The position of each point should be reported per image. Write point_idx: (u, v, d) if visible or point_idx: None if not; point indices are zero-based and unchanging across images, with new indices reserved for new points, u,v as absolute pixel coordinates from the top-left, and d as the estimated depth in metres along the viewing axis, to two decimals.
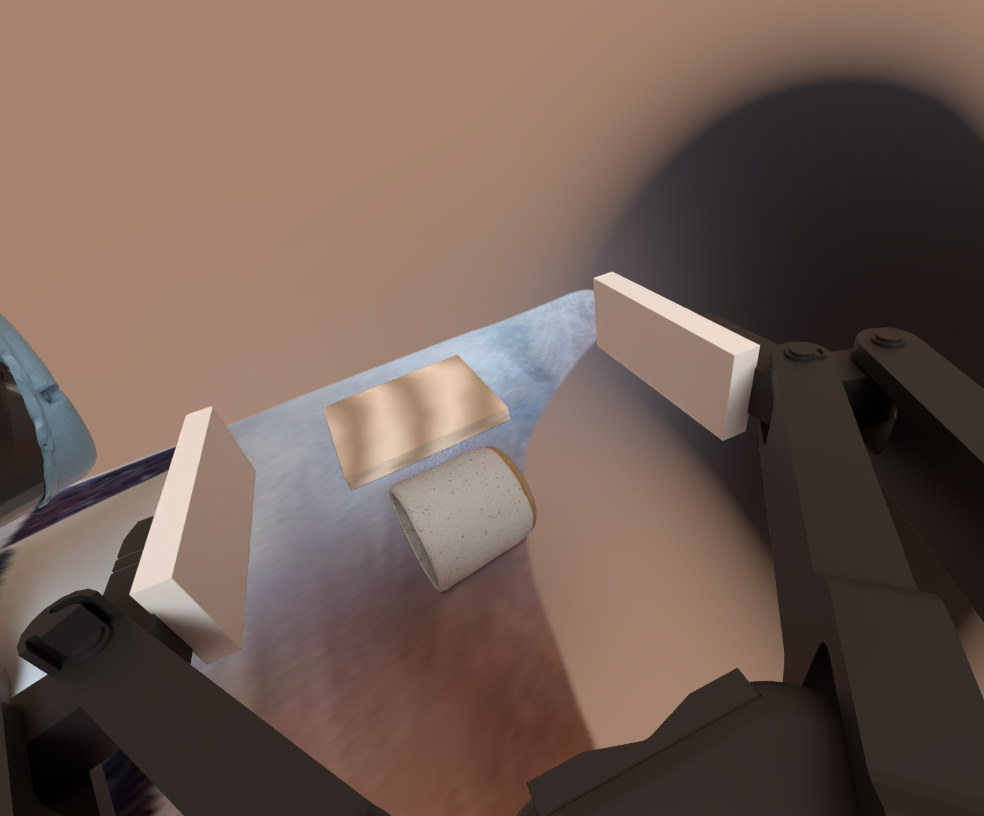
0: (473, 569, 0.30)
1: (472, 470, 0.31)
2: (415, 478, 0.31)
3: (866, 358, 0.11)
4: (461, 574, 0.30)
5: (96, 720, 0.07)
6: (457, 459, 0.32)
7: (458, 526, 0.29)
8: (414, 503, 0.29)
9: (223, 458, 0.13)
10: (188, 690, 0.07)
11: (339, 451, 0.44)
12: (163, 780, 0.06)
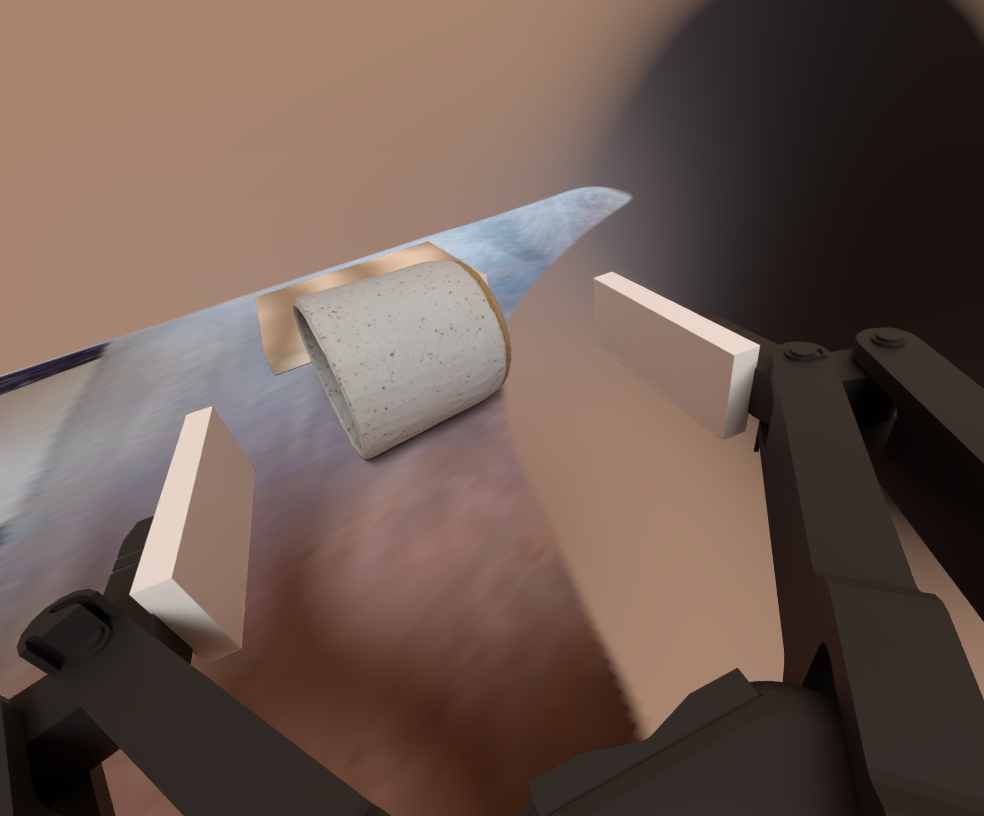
0: (414, 419, 0.20)
1: (412, 273, 0.20)
2: None
3: (866, 358, 0.11)
4: (394, 422, 0.19)
5: (96, 720, 0.07)
6: None
7: (385, 338, 0.18)
8: (317, 304, 0.19)
9: (223, 458, 0.13)
10: (188, 690, 0.07)
11: (263, 332, 0.34)
12: (163, 780, 0.06)
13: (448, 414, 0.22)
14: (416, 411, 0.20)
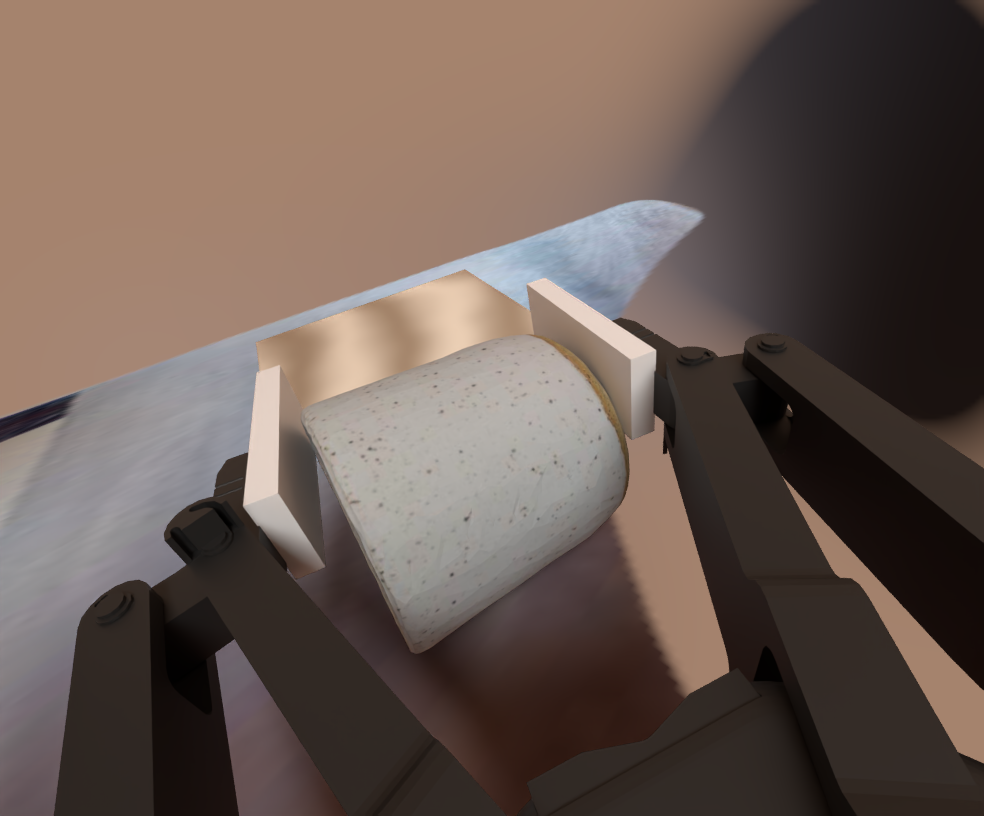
0: (492, 600, 0.13)
1: (488, 366, 0.13)
2: (356, 388, 0.13)
3: (757, 364, 0.11)
4: (463, 613, 0.12)
5: (215, 606, 0.08)
6: (453, 353, 0.15)
7: (455, 492, 0.11)
8: (342, 434, 0.11)
9: (292, 410, 0.15)
10: (288, 599, 0.08)
11: None
12: (262, 668, 0.07)
13: None
14: (496, 591, 0.12)
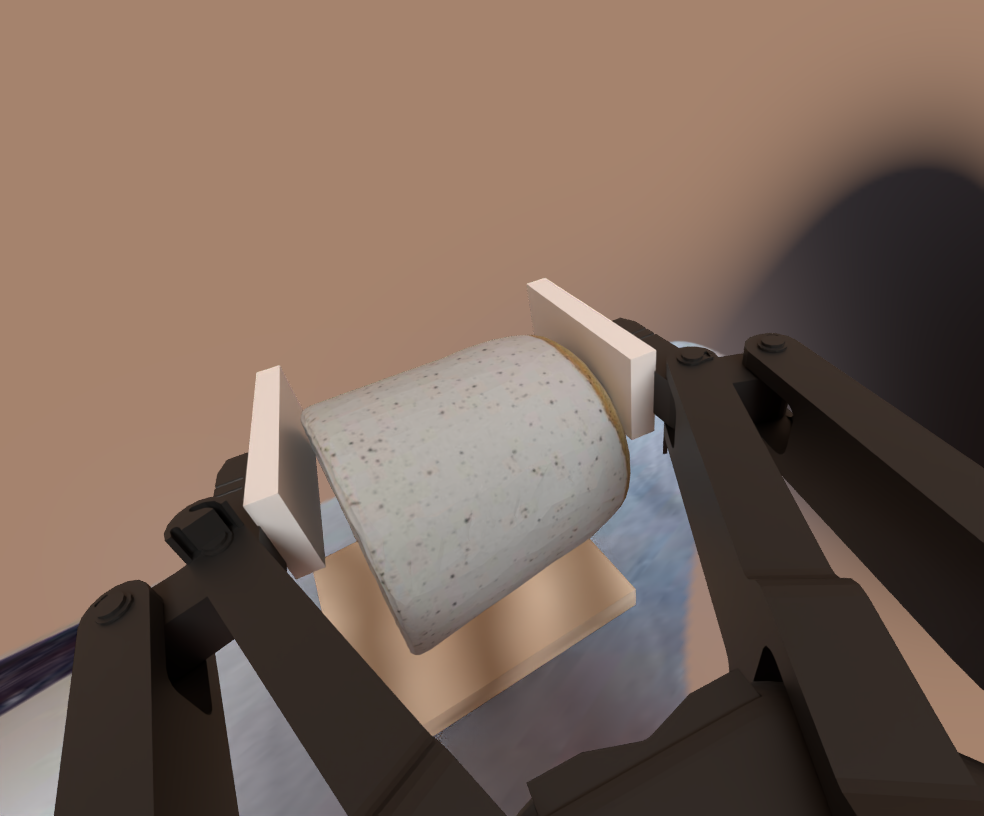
0: (492, 601, 0.13)
1: (488, 367, 0.13)
2: (356, 389, 0.13)
3: (757, 365, 0.11)
4: (464, 615, 0.12)
5: (215, 606, 0.08)
6: (453, 354, 0.15)
7: (456, 493, 0.11)
8: (342, 435, 0.11)
9: (292, 410, 0.15)
10: (287, 599, 0.08)
11: None
12: (262, 668, 0.07)
13: None
14: (497, 593, 0.12)
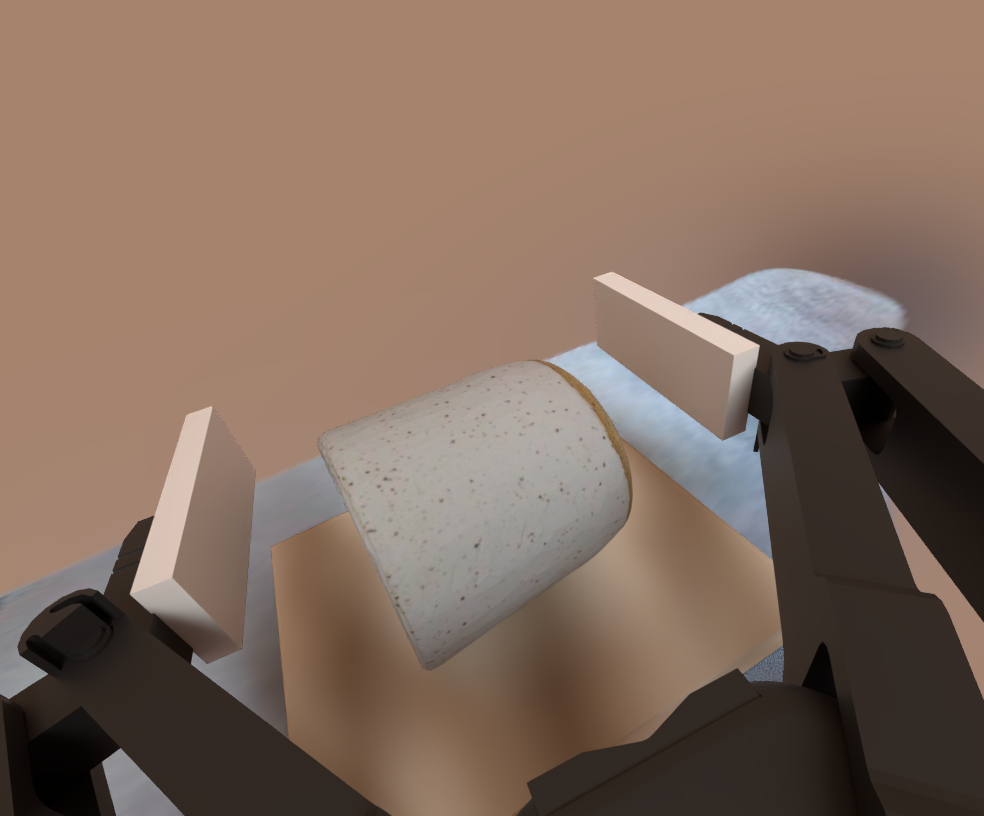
0: (500, 619, 0.13)
1: (497, 395, 0.14)
2: (370, 415, 0.14)
3: (866, 358, 0.11)
4: (473, 633, 0.13)
5: (97, 719, 0.07)
6: (463, 380, 0.15)
7: (466, 520, 0.12)
8: (358, 464, 0.12)
9: (223, 458, 0.13)
10: (189, 689, 0.07)
11: None
12: (163, 779, 0.06)
13: None
14: (505, 612, 0.13)
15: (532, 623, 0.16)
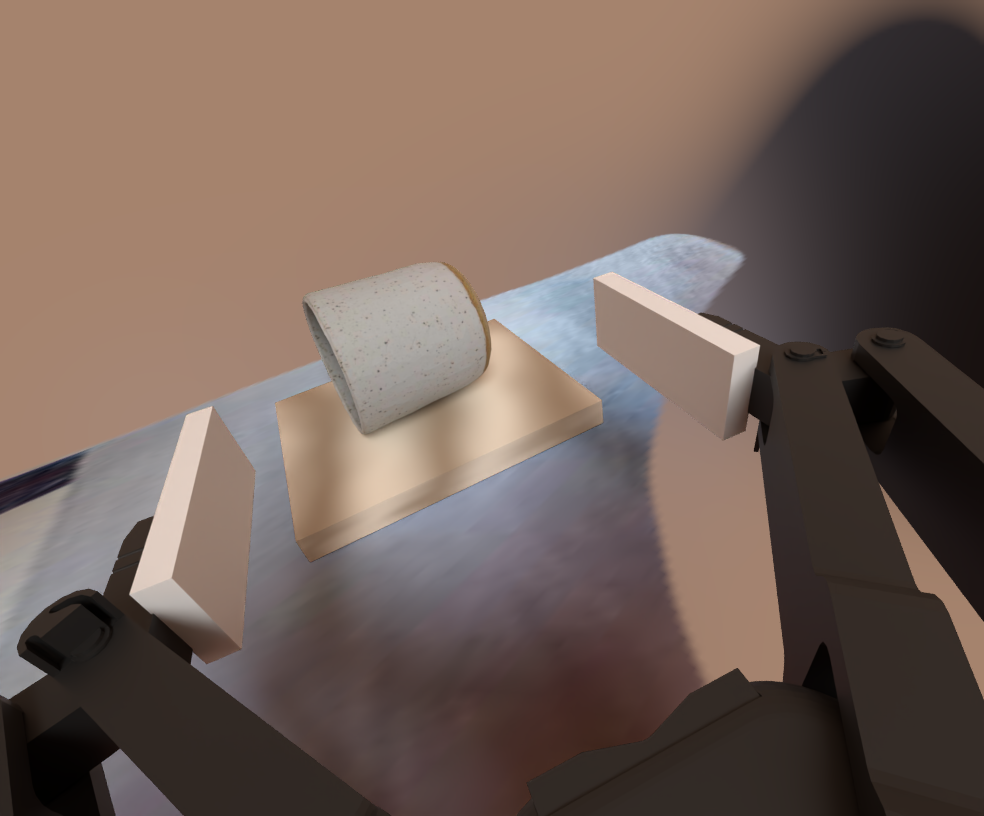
0: (405, 399, 0.23)
1: (405, 273, 0.24)
2: None
3: (866, 358, 0.11)
4: (388, 401, 0.23)
5: (96, 720, 0.07)
6: None
7: (380, 329, 0.22)
8: (323, 300, 0.22)
9: (223, 458, 0.13)
10: (188, 690, 0.07)
11: (291, 483, 0.24)
12: (163, 780, 0.06)
13: (436, 396, 0.25)
14: (407, 392, 0.23)
15: (434, 422, 0.26)
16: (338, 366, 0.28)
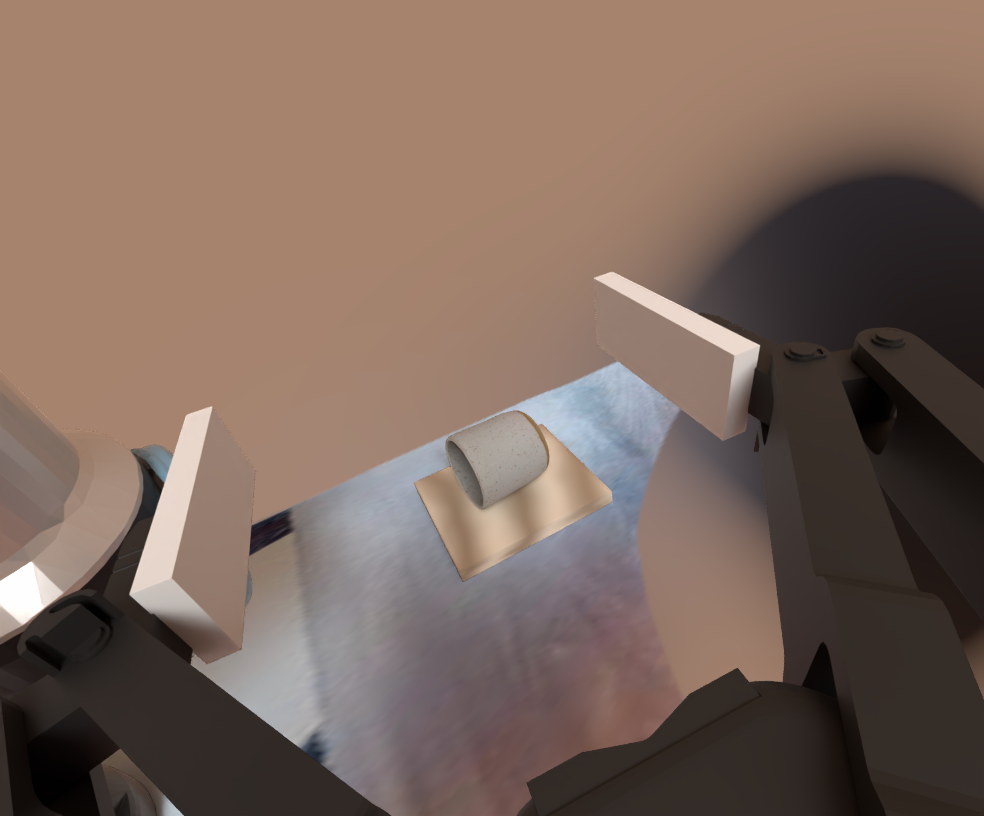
0: (506, 492, 0.44)
1: (505, 424, 0.44)
2: (465, 430, 0.45)
3: (866, 358, 0.11)
4: (498, 495, 0.43)
5: (96, 720, 0.07)
6: (493, 418, 0.46)
7: (497, 460, 0.42)
8: (467, 445, 0.42)
9: (223, 458, 0.13)
10: (188, 690, 0.07)
11: (444, 538, 0.44)
12: (163, 780, 0.06)
13: None
14: (507, 489, 0.44)
15: (518, 501, 0.46)
16: (458, 465, 0.48)
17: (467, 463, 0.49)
